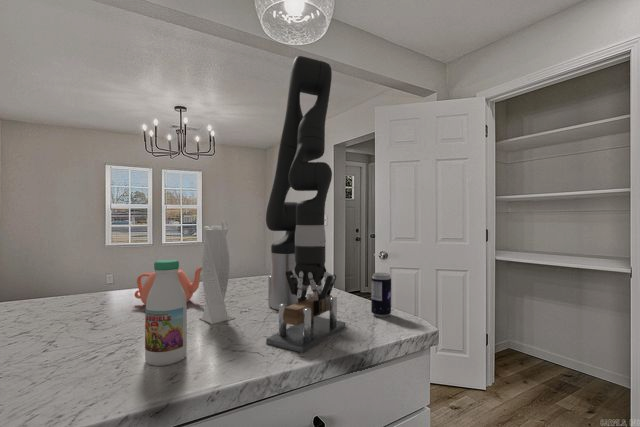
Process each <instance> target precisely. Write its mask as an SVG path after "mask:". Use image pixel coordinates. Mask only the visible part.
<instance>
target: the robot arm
mask: <svg viewBox="0 0 640 427" xmlns="http://www.w3.org/2000/svg"><path fill="white" fill-rule="evenodd" d="M332 71H333V70H332V66H331V65H330V64H329V63H328V62H325V61H324V60H318V59H314V58H311V57H306V56H303V55H297V56H296V57H295V58H294V60H293V62H292V65H291V70H290V76H289V84H288V94H287V104H286V111H285V117H284V122H283V127H282V133H281V138H280V142H279V149H278V153H277V163H276V167H275V168H276V170H275V174H274V179H273V185H272V188H271V192H270V194H269V200H268V203H267V208H266V213H265V214H266V215H265V222H266V224H265V225H266V227H267V228H268V230H270V231H273V232H285V235H284V236H283V237H282V238H280V239H279V240H277V241H275V242H272V244H271V246H270V265H271V266H270V276H268V292H267V293H268V294H267V295H268V301H267V302H268V304H267V306H268V307H270V308H271V309H273V310H278V311H279V304H287V307H288V306H290V305H293V304H295V303H298V302H301V301H304V300H306V299H307V294H308V293H307V292H308V288H309V287H310V289H311V292H312V294H313V295H314V299H315V300H314V301H313V303H314V316H316V317H319V316H320V315H321V314H320V313H321V312H322V300H323V299H325V298H327V297H329V296H330V295H331V293H332V291H333V288H334V284H335V282H336V279H337V275H336V274H335V273H334V274H331V273H329V272H327V269H326V266H325V263H326V244H327V240H326V236H327V235H326V230H325V224H326V222H325V216H326V215H325V212H326V211H325V210H326V201H327V197H328V196H327V195H328V192H329V189H330V187H331V182H332V179H333V172H332V168H331V166H330V164H328V163H327V162H325V161H322V162H321V161H316V162H314V161H315V160H318V159H320V158H322V157H323V155H324V153H325V152H326V151H325V149H326V139H325V138H326V137H325V135H326V134H325V133H326V132H325V130H326V119H327V113H328V107H329V101H330V94H331V86H332V76H333V73H332ZM301 93H302V94H307V95H312V96H316V100H315V102H314V104H313V105H312V107H311V108H310V109H309V110H308V111H307V112H306V113H305V114H303V111H302V106H301ZM303 115H304V116H303ZM290 188H292V189H293V190H294V191H297V192H310V191H311V192H315V191H316V192H317V193H316V194H315V196H314V197H313V198H310V199H306V200H300V201H298V202H297V201H286V198H287V196H288V193H289V190H290ZM323 279H324V280H323ZM323 281H324V285H323Z"/></svg>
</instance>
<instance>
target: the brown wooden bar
mask: <svg viewBox="0 0 640 427" xmlns="http://www.w3.org/2000/svg"><path fill="white" fill-rule="evenodd" d="M330 297H333V295H331V294H330V296H329V297H327V298H325V299H323V300H322V312H321V313H320V315H322V314H324V313H327V312H328V311H330ZM314 300H315V299H314V297H311V298H308V299H306V300H304V301H301V302H298V303H295V304H293V305H290V306H288V307H285V323H286V324H288V325H290V326H291V325H292V326H294V325H296V326H298V325H300V324H302V323H303V309H304V308H311V319H312V318H314V317H317V316H314V303H313V301H314Z"/></svg>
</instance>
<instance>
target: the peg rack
mask: <svg viewBox="0 0 640 427" xmlns="http://www.w3.org/2000/svg"><path fill="white" fill-rule="evenodd" d="M306 297H307V299H308V298H311V297H314V295H313V293H306ZM285 307H287V304H279V310H278V332H277V333H275V334H273V335H271V336H268V337H266V340H265V341H266V344H267V345H270V346H274V347H277V348H281V349H284V350H285V349H286V350H289V351H292V352H297V353H301V354H304V353H306V352H307V351H308V350H311V349H312V348H314V347H315V346H317V345H318V344H320V343H322V342H323V341H325V340H327V339H329V338H330V337H332V336H333V335H335V334H336V333H338V332H339V331H341V330H343V329H344V328H346V327H347V323H346V321H341V320H337V315H338V314H337V312H338V311H337V310H338V298H337V297H335V296H332V297H330V310H329V318H327V317H326V318H325V317H321V316H316V317H314V318H312V319H311V308H304V309H303V323H302V324H300V325H298V326H296V325H292V326H289V327H288V328H287V324H286V323H285Z"/></svg>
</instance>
